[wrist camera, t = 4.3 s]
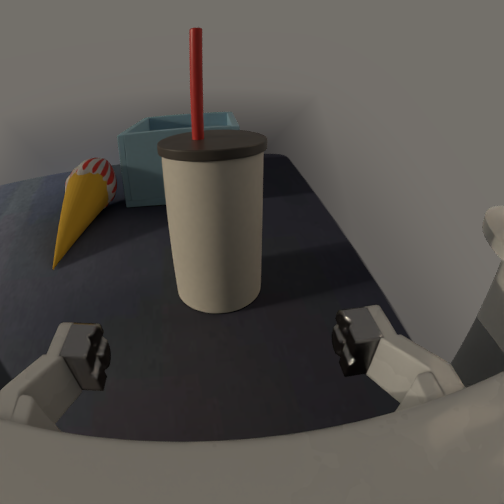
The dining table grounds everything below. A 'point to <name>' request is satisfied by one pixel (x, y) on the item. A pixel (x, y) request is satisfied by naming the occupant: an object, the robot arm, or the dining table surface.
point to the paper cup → (214, 206)
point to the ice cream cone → (83, 201)
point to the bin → (156, 153)
